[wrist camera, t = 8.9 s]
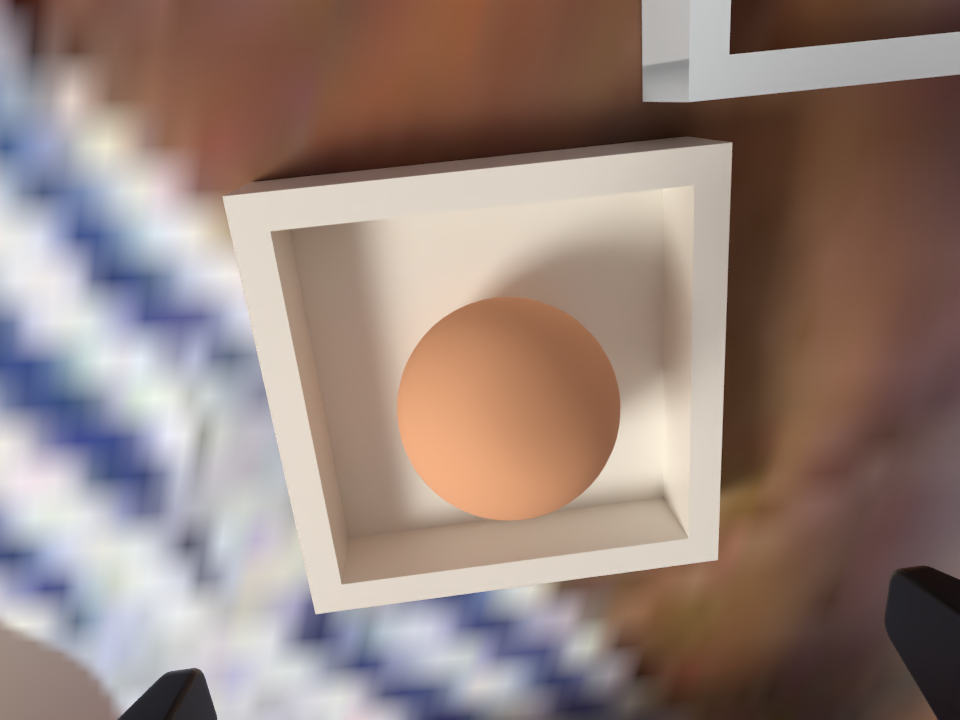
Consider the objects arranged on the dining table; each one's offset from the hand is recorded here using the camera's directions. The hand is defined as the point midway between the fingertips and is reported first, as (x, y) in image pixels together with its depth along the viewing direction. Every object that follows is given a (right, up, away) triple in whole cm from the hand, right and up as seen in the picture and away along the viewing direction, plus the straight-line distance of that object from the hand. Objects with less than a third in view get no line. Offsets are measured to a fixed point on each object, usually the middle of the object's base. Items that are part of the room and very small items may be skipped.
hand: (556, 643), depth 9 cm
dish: (-1, +4, +10) cm, 10 cm away
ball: (-1, +3, +9) cm, 10 cm away
